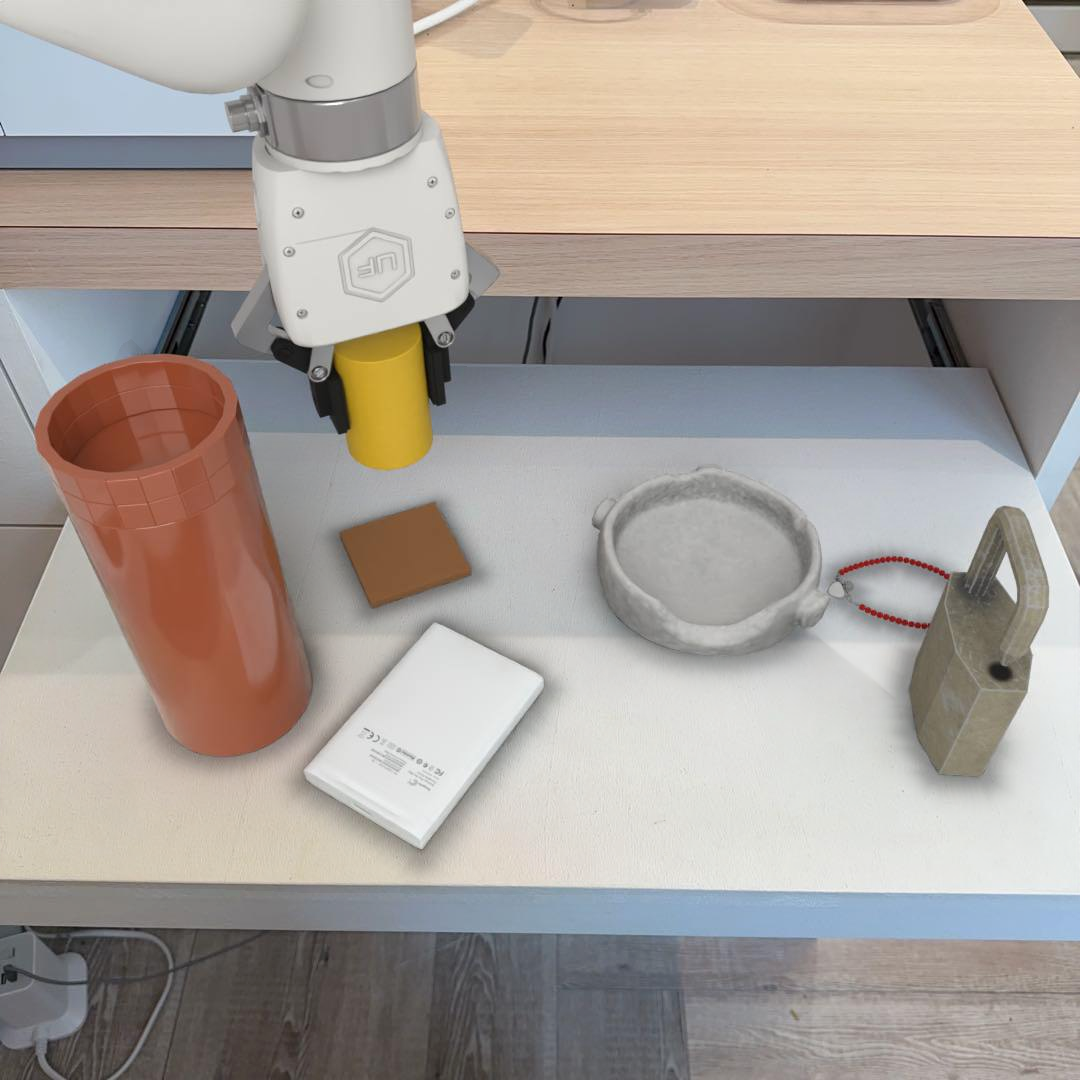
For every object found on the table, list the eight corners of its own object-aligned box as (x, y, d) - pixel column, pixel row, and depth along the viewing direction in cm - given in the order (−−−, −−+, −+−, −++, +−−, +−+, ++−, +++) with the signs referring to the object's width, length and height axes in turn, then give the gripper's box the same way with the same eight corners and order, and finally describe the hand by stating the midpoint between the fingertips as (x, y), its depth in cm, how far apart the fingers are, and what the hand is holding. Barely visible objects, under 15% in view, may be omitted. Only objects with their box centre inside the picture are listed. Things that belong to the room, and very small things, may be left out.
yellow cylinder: (362, 480, 63) (343, 372, 58) (337, 428, 67) (316, 320, 61) (445, 455, 65) (434, 347, 59) (416, 405, 68) (403, 298, 62)
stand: (178, 779, 61) (47, 504, 45) (149, 663, 67) (24, 383, 51) (330, 724, 64) (257, 445, 48) (290, 617, 70) (213, 335, 54)
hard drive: (544, 692, 65) (422, 852, 58) (434, 636, 68) (306, 781, 61) (544, 676, 64) (420, 837, 57) (433, 619, 67) (301, 766, 60)
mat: (371, 608, 70) (370, 602, 70) (339, 537, 74) (338, 531, 74) (471, 575, 72) (471, 569, 72) (435, 507, 76) (434, 501, 76)
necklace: (824, 617, 69) (827, 607, 68) (826, 549, 73) (829, 539, 72) (964, 638, 68) (969, 628, 67) (959, 568, 72) (963, 558, 71)
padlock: (924, 773, 61) (1005, 603, 50) (902, 659, 67) (970, 483, 56) (995, 778, 61) (1092, 608, 50) (967, 662, 67) (1048, 487, 56)
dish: (845, 645, 68) (862, 594, 64) (634, 692, 65) (640, 641, 62) (755, 491, 77) (766, 438, 74) (569, 527, 75) (570, 474, 71)
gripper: (172, 181, 46) (258, 488, 59) (539, 102, 51) (542, 403, 64) (141, 108, 51) (227, 408, 64) (479, 43, 55) (494, 334, 68)
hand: (384, 403), depth 64 cm, fingers closed on yellow cylinder, 5 cm apart
